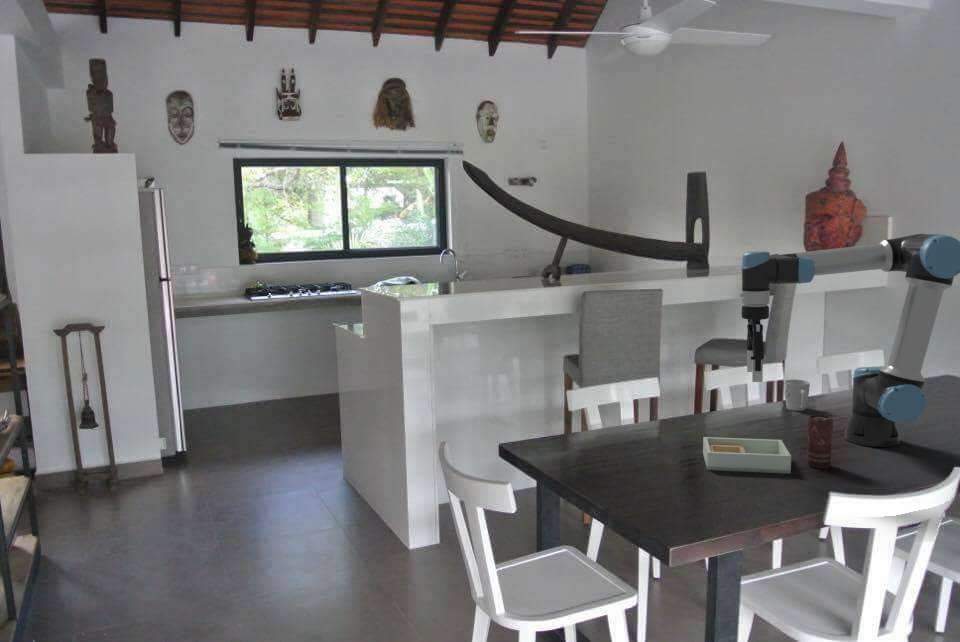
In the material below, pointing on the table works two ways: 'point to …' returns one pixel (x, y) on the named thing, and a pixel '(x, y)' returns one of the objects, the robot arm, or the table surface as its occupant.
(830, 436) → the can
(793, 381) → the mug
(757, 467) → the walled box
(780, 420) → the table surface
